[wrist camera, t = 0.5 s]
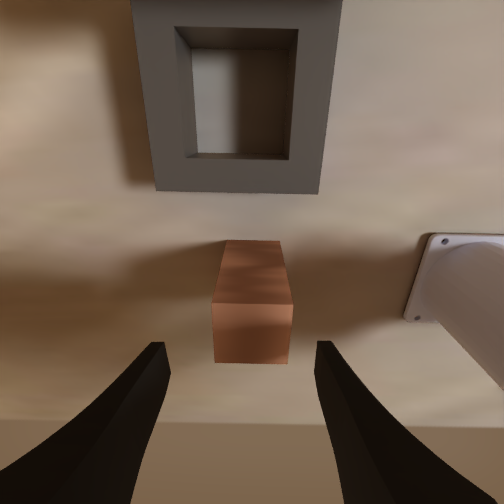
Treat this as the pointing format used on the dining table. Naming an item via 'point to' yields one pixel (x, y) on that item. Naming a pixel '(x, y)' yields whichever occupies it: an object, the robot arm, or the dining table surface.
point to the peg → (252, 304)
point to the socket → (235, 37)
